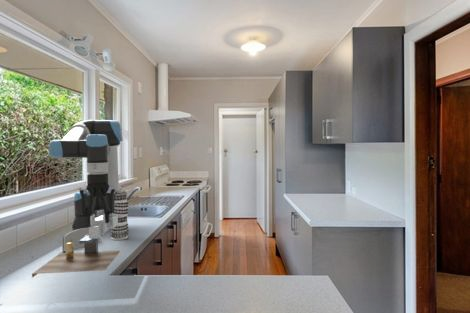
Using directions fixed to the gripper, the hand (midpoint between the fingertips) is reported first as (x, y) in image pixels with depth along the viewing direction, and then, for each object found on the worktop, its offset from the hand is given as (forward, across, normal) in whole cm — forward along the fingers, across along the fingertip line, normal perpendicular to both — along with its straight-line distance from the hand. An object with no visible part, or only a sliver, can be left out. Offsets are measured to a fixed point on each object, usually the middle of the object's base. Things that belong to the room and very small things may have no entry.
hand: (99, 231), depth 112 cm
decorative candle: (+15, -3, +36) cm, 39 cm away
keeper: (+14, -8, +9) cm, 19 cm away
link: (+1, 0, +4) cm, 4 cm away
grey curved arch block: (+15, -16, +24) cm, 33 cm away
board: (+14, -9, +3) cm, 17 cm away
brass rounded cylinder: (+14, -15, +8) cm, 22 cm away
